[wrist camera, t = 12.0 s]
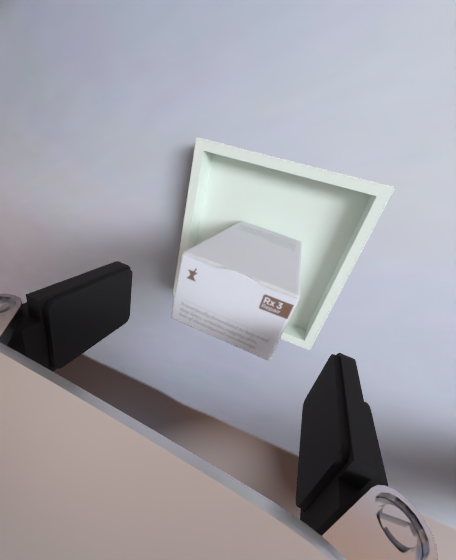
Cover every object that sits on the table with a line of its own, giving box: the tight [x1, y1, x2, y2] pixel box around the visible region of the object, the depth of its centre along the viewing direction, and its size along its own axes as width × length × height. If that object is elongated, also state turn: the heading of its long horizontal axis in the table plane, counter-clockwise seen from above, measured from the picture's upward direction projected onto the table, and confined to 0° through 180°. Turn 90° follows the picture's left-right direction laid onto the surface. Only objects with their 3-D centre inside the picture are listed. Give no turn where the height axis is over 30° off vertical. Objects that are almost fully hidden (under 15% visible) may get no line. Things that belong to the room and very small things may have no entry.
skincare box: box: [171, 221, 302, 360], centre depth 17 cm, size 6×4×12 cm
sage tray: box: [173, 137, 395, 350], centre depth 22 cm, size 15×15×2 cm
